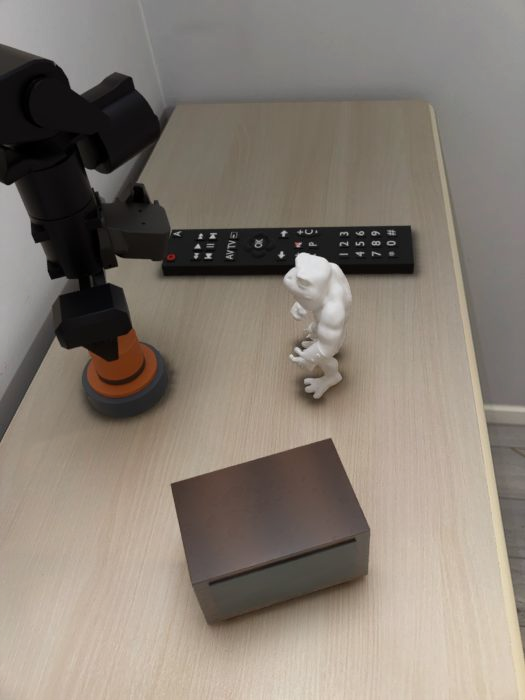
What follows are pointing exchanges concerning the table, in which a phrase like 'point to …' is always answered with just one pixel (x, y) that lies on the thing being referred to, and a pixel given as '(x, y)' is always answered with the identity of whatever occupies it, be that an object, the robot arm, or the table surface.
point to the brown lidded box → (271, 530)
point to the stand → (133, 402)
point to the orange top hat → (123, 369)
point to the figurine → (320, 316)
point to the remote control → (288, 250)
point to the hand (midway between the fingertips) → (108, 327)
